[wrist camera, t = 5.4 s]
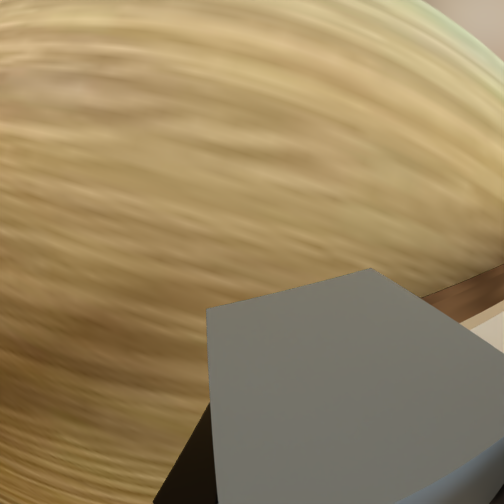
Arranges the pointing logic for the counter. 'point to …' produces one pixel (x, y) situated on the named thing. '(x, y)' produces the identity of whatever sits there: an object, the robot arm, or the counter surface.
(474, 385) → the blue gray block
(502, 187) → the counter surface
